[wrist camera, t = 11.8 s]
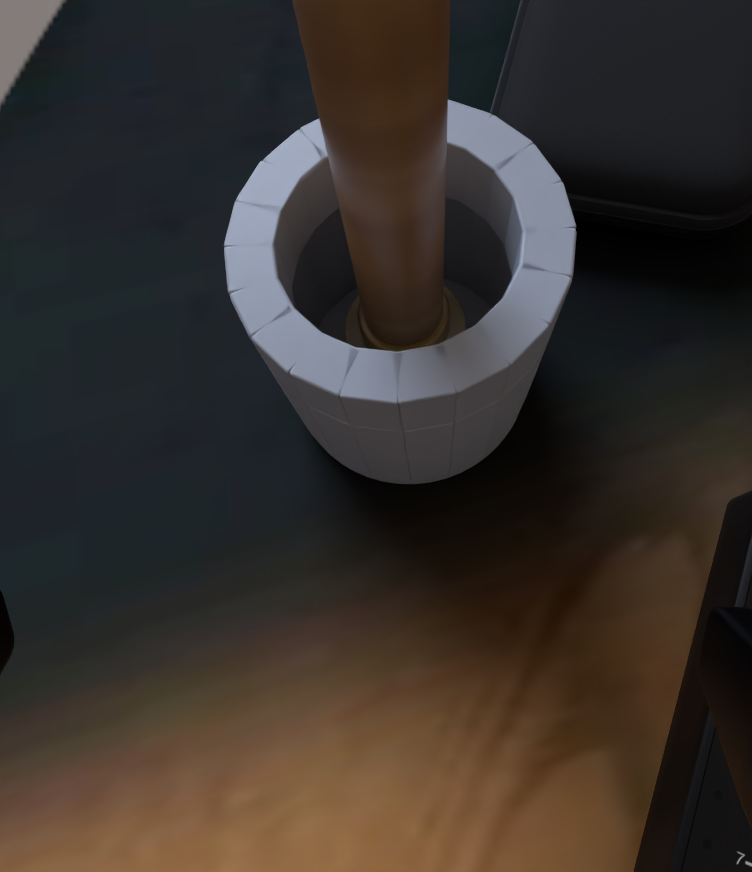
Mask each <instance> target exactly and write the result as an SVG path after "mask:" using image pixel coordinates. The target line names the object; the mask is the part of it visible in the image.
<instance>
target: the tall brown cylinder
mask: <svg viewBox="0 0 752 872" xmlns="http://www.w3.org/2000/svg"><path fill="white" fill-rule="evenodd" d="M292 1H293V5H294V9H295V14H296V18H297V23H298V27H299V31H300V36H301V40H302V45H303V49H304V53H305V58H306V62H307V67H308V71H309V75H310V80H311V84H312V89H313V93H314V97H315V102H316V106H317V111H318V115H319V120H320V124H321V128H322V133H323V137H324V142H325V146H326V150H327V155H328V159H329V164H330V168H331V172H332V177H333V181H334V186H335V190H336V194H337V199H338V203H339V208H340V212H341V217H342V221H343V225H344V230H345V234H346V239H347V243H348V247H349V252H350V256H351V261H352V265H353V269H354V274H355V278H356V283H357V287H358V291H359V295H358V296H357V297H356V299H355V300H354V302H353V303H352V305H351V307H350V309H349V311H348V314H347V317H346V321H345V330H344V333H345V341H346V343H347V344H349V345H352V346H354V347H357V348H366V349H376V350H385V351H394V352H399V351H405V350H410V349H416V348H421V347H426V346H432V345H437V344H440V343H442V342H444V341H446V340H448V339H450V338H452V337H453V336H455V335H457V334H459V333H461V332H463V331H465V330H466V318H465V314H464V311H463V308H462V306H461V304H460V302H459V301H458V299H457V297H456V296H455V295H454V294H453V293H452V292H451V291H450V290H449V289H448V288H447V287H446V286H444V285H443V281H444V241H445V200H446V159H447V119H448V78H449V38H450V0H292Z"/></svg>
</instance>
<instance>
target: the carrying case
mask: <svg viewBox="0 0 752 872" xmlns="http://www.w3.org/2000/svg"><path fill="white" fill-rule="evenodd" d="M490 114H492V116H493V115H494V116H496V117H498V118H499V119H500V120H502V121H503V122H505V123H506V124H508V125H509V126H511V127H512V128H514V129H515V130H516V131H518V132H519V133H521V134H522V135H524V136H525V137H527V138H528V139H529V140H531V141H532V142H533V144H534V145H536V147H537V148H538V149H539V151H540V152H541V153H542V155H543V156H544V157H545V159H546V160H547V161H548V163H549V164H550V165H551V167H552V168H553V169H554V171H555V172H556V173H557V175H558V176H559V177H560V179H561V181H562V182H563V184H564V187H565V190H566V194H567V197H568V200H569V204H570V207H571V210H572V213H573V217H574V219H577V220H583V221H589V222H595V223H601V224H607V225H613V226H618V227H624V228H630V229H636V230H641V231H647V232H653V233H659V234H664V235H670V236H676V237H682V238H688V239H707V238H712V237H716V236H719V235H722V234H725V233H728V232H730V231H732V230H734V229H736V228H738V227H740V226H741V225H742V224H744V223H745V222H746V221H747V220H748V219H750V218H751V217H752V0H521V2H520V6H519V9H518V13H517V17H516V20H515V24H514V28H513V32H512V35H511V39H510V43H509V46H508V50H507V53H506V57H505V61H504V64H503V68H502V72H501V75H500V79H499V83H498V86H497V90H496V93H495V97H494V101H493V104H492V108H491V112H490Z"/></svg>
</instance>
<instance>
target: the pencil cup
mask: <svg viewBox="0 0 752 872" xmlns="http://www.w3.org/2000/svg"><path fill="white" fill-rule="evenodd" d="M576 234H577V232H576V223H575V220H574V217H573V213H572V210H571V207H570V204H569V200H568V197H567V194H566V190H565V187H564V184H563V182H562V181H561V179H560V177H559V176H558V175H557V173H556V172H555V171H554V169H553V168H552V167H551V165H550V164H549V163H548V161H547V160H546V159H545V157H544V156H543V155H542V153H541V152H540V151H539V149H538V148H537V147H536V145H534V144H533V142H532V141H531V140H529V139H528V138H527V137H525V136H524V135H522V134H521V133H519V132H518V131H516V130H515V129H514V128H512V127H511V126H509V125H508V124H506V123H505V122H503V121H502V120H500V119H499V118H498V117H496V116H494V115H493V116H492V114H490V113H487V112H484V111H481V110H478V109H475V108H472V107H469V106H466V105H463V104H460V103H457V102H454V101H451V100H448V119H447V159H446V200H445V241H444V281H443V285H444V286H446V287H447V288H448V289H449V290H450V291H451V292H452V293H453V294H454V295H455V296H456V297H457V299H458V301H459V302H460V304H461V306H462V308H463V311H464V314H465V318H466V330H465V331H463V332H461V333H459V334H457V335H455V336H453V337H452V338H450V339H448V340H446V341H444V342H442V343H440V344H437V345H432V346H426V347H421V348H416V349H410V350H405V351H399V352H394V351H385V350H376V349H366V348H357V347H354V346H352V345H349V344H347V343H346V341H345V333H344V330H345V321H346V317H347V314H348V311H349V309H350V307H351V305H352V303H353V302H354V300H355V299H356V297H357V296H358V295H359V291H358V287H357V283H356V278H355V274H354V269H353V265H352V261H351V256H350V252H349V247H348V243H347V239H346V234H345V230H344V225H343V221H342V217H341V212H340V208H339V203H338V199H337V194H336V190H335V186H334V181H333V177H332V172H331V168H330V164H329V159H328V155H327V150H326V146H325V142H324V137H323V133H322V128H321V124H320V120H319V119H317V120H315V121H313V122H311V123H309V124H307V125H305V126H303V127H301V128H300V131H299V130H298V131H296V132H294V133H293V134H292V135H291V136H290V137H289V138H288V139H286V140H285V141H284V142H283V143H282V144H281V145H279V146H278V147H277V148H276V149H275V150H274V151H273V152H271V153H270V154H269V155H268V156H267V157H266V158H264V160H263V161H260V163H259V164H258V166H257V167H256V169H255V171H254V172H253V174H252V175H251V177H250V178H249V180H248V181H247V183H246V185H245V186H244V188H243V189H242V191H241V192H240V194H239V196H238V197H237V199H236V202H235V204H234V208H233V212H232V215H231V219H230V223H229V227H228V231H227V235H226V239H225V243H224V247H225V248H224V256H225V266H226V276H227V286H228V293H229V294H230V299H231V301H232V303H233V305H234V307H235V309H236V311H237V313H238V316H239V318H240V320H241V322H242V324H243V326H244V328H245V330H246V332H247V334H248V336H249V337H250V339H251V340H252V342H253V344H254V345H255V347H256V348H257V350H258V351H259V353H260V355H261V356H262V358H263V359H264V361H265V362H266V364H267V366H268V367H269V368H270V370H271V372H272V374H273V375H274V377H275V378H276V380H277V381H278V383H279V385H280V386H281V388H282V389H283V391H284V392H285V394H286V396H287V397H288V399H289V400H290V402H291V403H292V405H293V407H294V408H295V410H296V411H297V413H298V414H299V416H300V418H301V419H302V421H303V422H304V424H305V425H306V427H307V429H308V430H309V432H310V433H311V434H312V436H313V437H314V438H315V439H316V440H317V441H318V442H319V444H320V445H321V446H322V447H323V448H324V449H325V450H326V451H327V452H328V453H329V454H330V455H331V456H332V457H334V458H335V459H336V460H337V461H339V462H340V463H341V464H343V465H344V466H346V467H348V468H349V469H351V470H353V471H355V472H357V473H359V474H362V475H364V476H366V477H369V478H372V479H376V480H379V481H383V482H390V483H396V484H420V483H429V482H434V481H438V480H442V479H446V478H449V477H451V476H454V475H457V474H459V473H462V472H463V471H465V470H467V469H469V468H471V467H473V466H474V465H476V464H477V463H479V462H480V461H481V460H483V459H484V458H486V457H487V456H488V455H489V454H490V453H491V452H492V451H493V450H494V449H495V448H496V447H497V446H499V444H500V443H501V442H502V440H503V439H504V438H505V437H506V435H507V434H508V433H509V431H510V429H511V428H512V427H513V424H514V423H515V421H516V419H517V416H518V414H519V412H520V409H521V407H522V405H523V403H524V401H525V399H526V396H527V394H528V391H529V389H530V386H531V384H532V381H533V379H534V376H535V374H536V371H537V369H538V366H539V364H540V361H541V358H542V356H543V353H544V351H545V348H546V346H547V343H548V341H549V338H550V336H551V333H552V331H553V328H554V326H555V323H556V320H557V318H558V315H559V313H560V310H561V308H562V305H563V303H564V300H565V298H566V295H567V292H568V290H569V287H570V285H571V282H572V278H573V273H574V260H575V247H576Z"/></svg>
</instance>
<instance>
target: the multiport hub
mask: <svg viewBox="0 0 752 872" xmlns="http://www.w3.org/2000/svg"><path fill="white" fill-rule="evenodd" d="M717 606H728V607H748V608H752V491H749V492H747V493H745V494H743V495H740V496H738V497H736V498H734V499H732V500H731V501H730V502H729V503H728V505H727V509H726V512H725V516H724V520H723V524H722V528H721V532H720V536H719V540H718V544H717V548H716V552H715V555H714V559H713V563H712V567H711V571H710V575H709V579H708V583H707V587H706V591H705V595H704V598H703V602H702V606H701V610H700V614H699V618H698V622H697V626H696V630H695V634H694V638H693V641H692V645H691V649H690V653H689V657H688V661H687V665H686V669H685V673H684V677H683V681H682V684H681V688H680V692H679V696H678V700H677V704H676V708H675V712H674V716H673V720H672V724H671V727H670V731H669V735H668V739H667V743H666V747H665V751H664V755H663V759H662V763H661V767H660V770H659V774H658V778H657V782H656V786H655V790H654V794H653V798H652V802H651V806H650V810H649V813H648V817H647V821H646V825H645V829H644V833H643V837H642V841H641V845H640V849H639V853H638V856H637V860H636V864H635V868H634V872H752V828H751V826H750V823H749V821H748V819H747V816H746V814H745V812H744V809H743V807H742V804H741V801H740V798H739V795H738V793H737V790H736V787H735V784H734V781H733V778H732V775H731V772H730V769H729V766H728V763H727V760H726V757H725V754H724V751H723V748H722V745H721V742H720V739H719V736H718V733H717V730H716V727H715V724H714V721H713V718H712V715H711V712H710V709H709V706H708V703H707V700H706V697H705V694H704V691H703V688H702V685H701V682H700V677H699V669H698V667H699V657H700V652H701V647H702V642H703V637H704V632H705V627H706V622H707V617H708V614H709V612H710V611H711V610H712V609H713V608H715V607H717Z"/></svg>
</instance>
